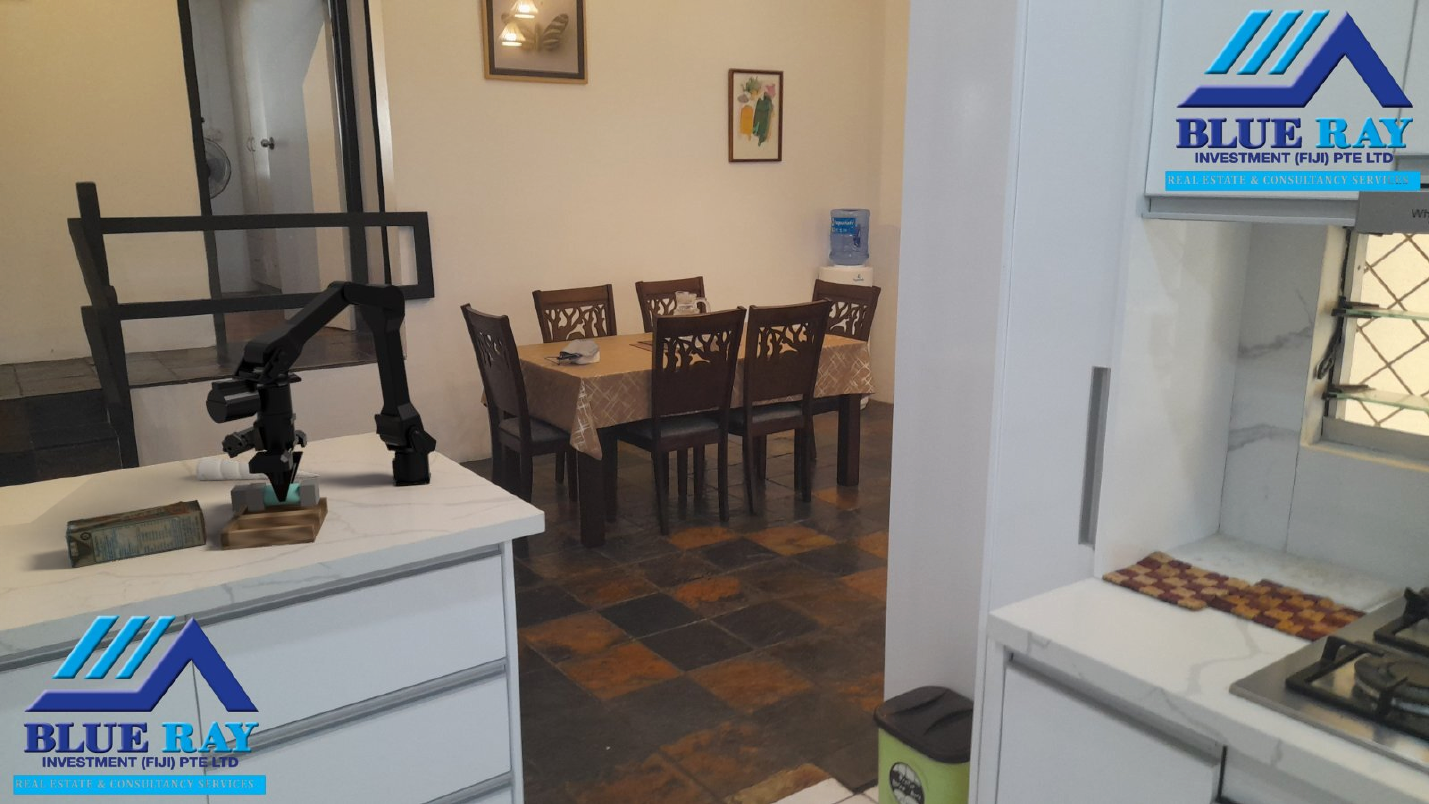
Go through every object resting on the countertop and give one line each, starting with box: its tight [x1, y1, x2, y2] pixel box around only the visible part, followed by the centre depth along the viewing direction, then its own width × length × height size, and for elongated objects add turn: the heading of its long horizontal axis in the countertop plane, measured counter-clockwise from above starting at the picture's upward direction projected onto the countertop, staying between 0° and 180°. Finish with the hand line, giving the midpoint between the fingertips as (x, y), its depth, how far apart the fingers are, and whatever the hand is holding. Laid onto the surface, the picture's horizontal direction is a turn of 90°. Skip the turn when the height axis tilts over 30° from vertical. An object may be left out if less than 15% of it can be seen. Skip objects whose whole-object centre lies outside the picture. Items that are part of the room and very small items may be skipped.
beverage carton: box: [64, 499, 207, 569], centre depth 156 cm, size 8×19×7 cm, turn 123°
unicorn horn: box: [195, 456, 320, 482], centre depth 194 cm, size 5×24×5 cm, turn 88°
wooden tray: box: [219, 496, 329, 551], centre depth 164 cm, size 14×16×3 cm
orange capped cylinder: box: [230, 480, 300, 512], centre depth 177 cm, size 11×4×4 cm, turn 104°
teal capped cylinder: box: [246, 478, 321, 511], centre depth 167 cm, size 11×4×4 cm, turn 104°
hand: (284, 498), depth 168 cm, fingers closed on teal capped cylinder, 3 cm apart
